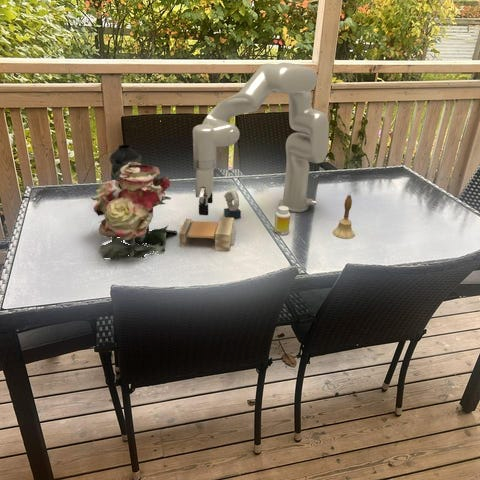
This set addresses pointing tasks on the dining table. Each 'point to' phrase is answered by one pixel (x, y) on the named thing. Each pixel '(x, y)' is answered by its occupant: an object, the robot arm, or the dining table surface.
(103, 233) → the rose bouquet
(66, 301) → the dining table surface
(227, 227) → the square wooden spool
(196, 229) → the flap
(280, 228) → the supplement bottle
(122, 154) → the beer stein
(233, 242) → the pin
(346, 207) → the hand bell
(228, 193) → the watch
